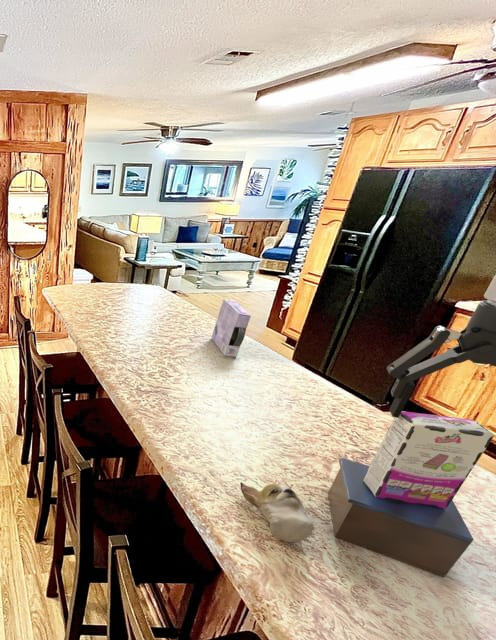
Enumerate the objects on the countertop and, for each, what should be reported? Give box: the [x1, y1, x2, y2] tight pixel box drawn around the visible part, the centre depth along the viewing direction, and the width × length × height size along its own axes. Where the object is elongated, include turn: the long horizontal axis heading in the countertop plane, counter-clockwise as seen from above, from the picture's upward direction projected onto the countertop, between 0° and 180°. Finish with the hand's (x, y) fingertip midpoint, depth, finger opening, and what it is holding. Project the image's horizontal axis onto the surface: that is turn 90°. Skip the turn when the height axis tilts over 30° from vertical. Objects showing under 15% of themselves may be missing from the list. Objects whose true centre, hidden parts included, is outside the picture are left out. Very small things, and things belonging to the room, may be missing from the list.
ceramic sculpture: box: [239, 481, 315, 543], centre depth 77 cm, size 11×9×15 cm
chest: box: [327, 467, 472, 578], centre depth 75 cm, size 16×14×9 cm
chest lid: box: [338, 457, 474, 544], centre depth 73 cm, size 16×14×1 cm
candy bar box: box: [363, 410, 496, 509], centre depth 69 cm, size 11×5×16 cm, turn 76°
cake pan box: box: [210, 298, 251, 358], centre depth 152 cm, size 19×5×18 cm, turn 171°
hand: (445, 425), depth 65 cm, fingers open, 13 cm apart
